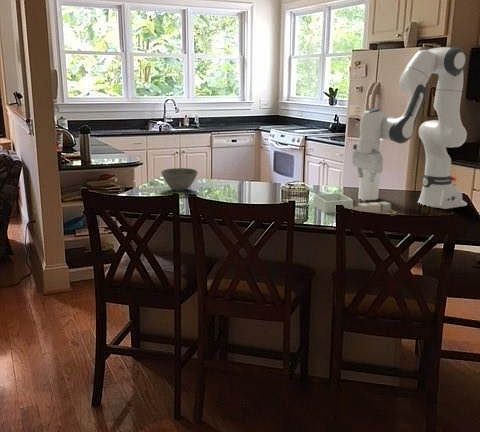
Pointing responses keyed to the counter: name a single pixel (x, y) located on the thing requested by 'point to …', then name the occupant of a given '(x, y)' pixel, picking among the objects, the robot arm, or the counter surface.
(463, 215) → the counter surface
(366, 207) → the stone
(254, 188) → the counter surface
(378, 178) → the cylinder container
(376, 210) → the stone
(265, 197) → the counter surface
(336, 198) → the tub
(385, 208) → the stone
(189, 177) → the bowl
